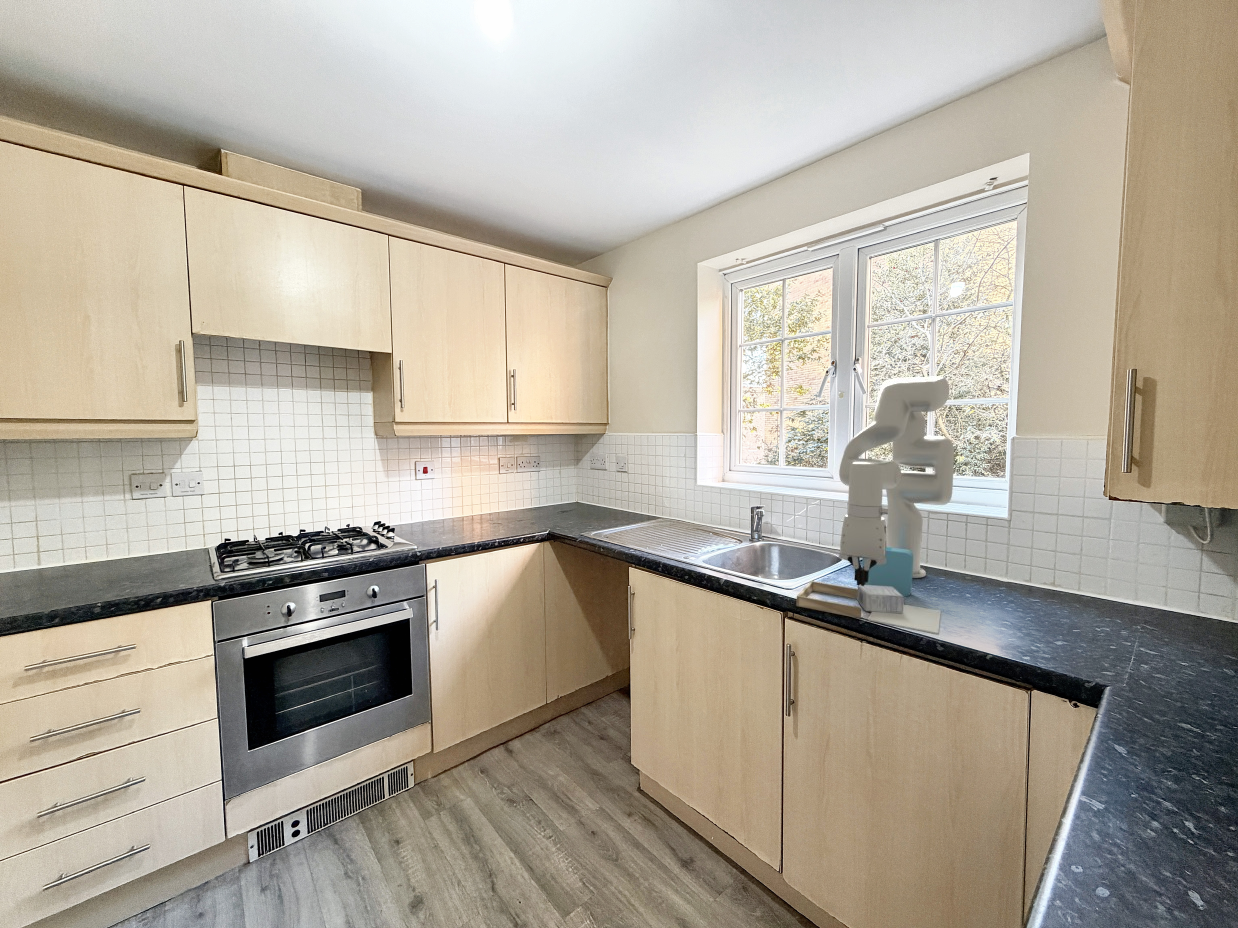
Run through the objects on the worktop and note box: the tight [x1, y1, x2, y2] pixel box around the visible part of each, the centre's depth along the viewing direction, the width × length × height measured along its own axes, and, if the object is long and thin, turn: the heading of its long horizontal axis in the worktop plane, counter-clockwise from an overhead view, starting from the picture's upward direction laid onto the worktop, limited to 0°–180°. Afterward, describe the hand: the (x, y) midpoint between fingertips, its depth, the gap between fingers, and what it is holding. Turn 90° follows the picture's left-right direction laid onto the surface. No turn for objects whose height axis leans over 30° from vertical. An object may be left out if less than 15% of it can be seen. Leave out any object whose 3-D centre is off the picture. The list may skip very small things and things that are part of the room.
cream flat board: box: [867, 604, 941, 635], centre depth 124 cm, size 16×14×1 cm
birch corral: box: [795, 580, 863, 619], centre depth 133 cm, size 15×15×2 cm
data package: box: [861, 547, 914, 598], centre depth 142 cm, size 12×4×12 cm, turn 57°
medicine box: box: [857, 584, 905, 613], centre depth 129 cm, size 8×4×9 cm
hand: (861, 584), depth 129 cm, fingers closed
